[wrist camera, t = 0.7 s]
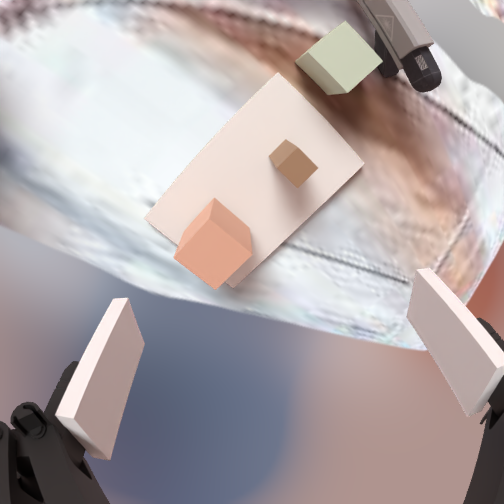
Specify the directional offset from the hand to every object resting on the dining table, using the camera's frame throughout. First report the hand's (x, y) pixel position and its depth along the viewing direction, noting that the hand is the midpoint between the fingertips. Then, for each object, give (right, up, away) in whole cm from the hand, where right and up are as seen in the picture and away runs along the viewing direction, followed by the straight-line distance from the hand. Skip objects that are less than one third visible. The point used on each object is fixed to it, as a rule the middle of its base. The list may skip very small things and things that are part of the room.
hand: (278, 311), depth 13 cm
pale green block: (+7, +23, +15) cm, 29 cm away
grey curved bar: (+10, +32, +12) cm, 35 cm away
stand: (-1, +10, +21) cm, 24 cm away
